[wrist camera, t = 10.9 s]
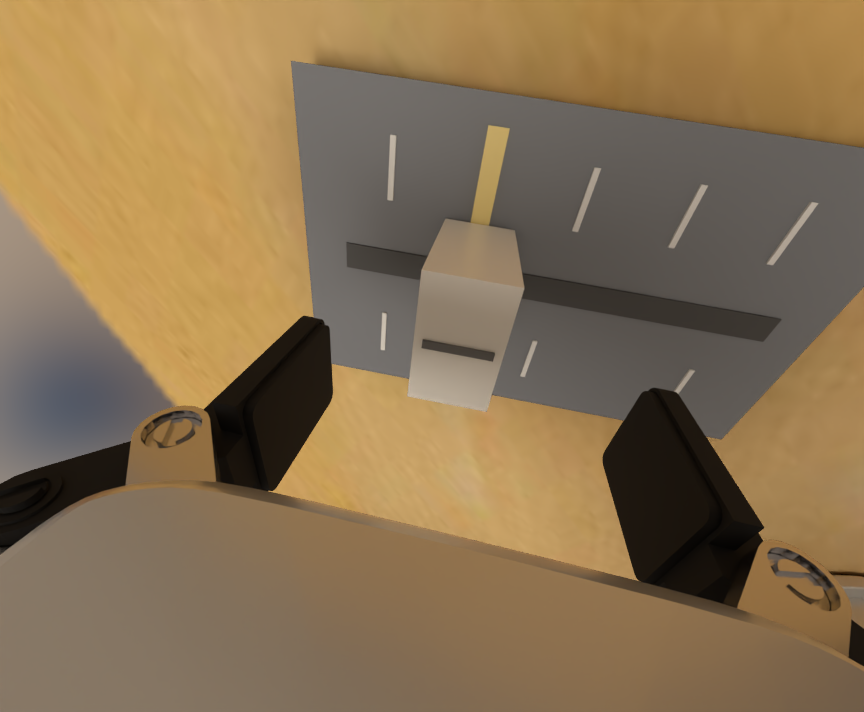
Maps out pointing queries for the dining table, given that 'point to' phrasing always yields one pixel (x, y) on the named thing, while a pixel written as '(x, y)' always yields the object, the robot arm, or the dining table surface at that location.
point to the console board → (579, 238)
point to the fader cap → (465, 314)
